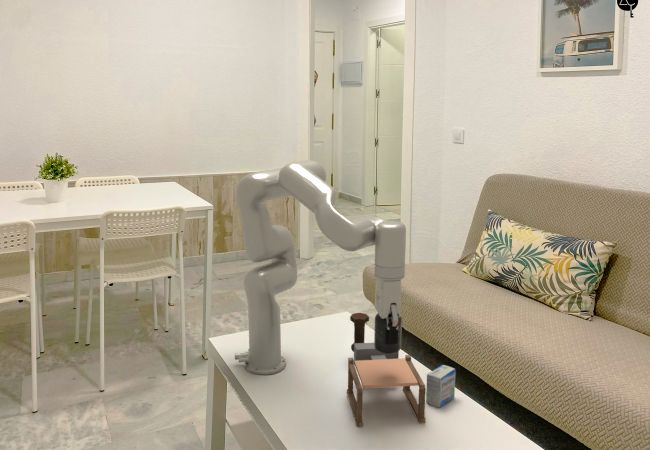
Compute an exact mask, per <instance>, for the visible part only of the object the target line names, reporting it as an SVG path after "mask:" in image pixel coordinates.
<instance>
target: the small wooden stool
mask: <svg viewBox="0 0 650 450" xmlns="http://www.w3.org/2000/svg"><path fill="white" fill-rule="evenodd" d="M404 358H405V360H406V362H407V363H408V365H409V367H410V369H411V371H412V372H413V374H414V376H415V378H416V380H417V381H418V401H417V400H416V398H415V395H414V393H413V391H412V389H411V386H402V391H403V393H404V395H405V397H406V399H407V401H408V403H409V405H410V407H411V409H412V411H413V414H414V415H415V418H416V419H417V422H418V424H426V417H425V413H426V412H425V411H426V410H425V407H426V389H427V387H426V384H425V383H424V381H423V379H422V377H421V376H420V373H419V372H418V370H417V369H416V367H415V365H414V364H413V362H412V356H411V355H410V354H405V357H404ZM354 361H355V360H354V357H348V358H347V363H348V365H347V389H346V395H347V399H348V402H349V405H350V408H351V411H352V415H353V417H354V418H353V419H354V422H355V425H356V427H357V428H359V427H360V428H362V427H364V420H363V410H364V409H363V408H364V407H363V403H364V401H363V399H364V394H363V393H364V391H363V386H362V383H361V380H360V378H359V375H358V372H357V369H356V366H355V364H354ZM354 386H355V389H356V395H355V392H354Z"/></svg>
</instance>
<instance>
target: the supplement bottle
mask: <svg viewBox="0 0 650 450" xmlns="http://www.w3.org/2000/svg"><path fill="white" fill-rule="evenodd" d="M388 317H392V316H391V315H388ZM390 322H392V320H389V324H390ZM402 324H403V317H402V315H401V316H400V317H399V318H398V343H397V344H385V329H386V318H384V319H382V318H381V317H380V316H379V314H378V312H377V313H376V314H375V316H374V342H373V343H374V347H375V349H376V350H377V351H378V352H381V353H386V354H392V353H396V352H398V351H400V350H401V348H402V328H403V325H402Z"/></svg>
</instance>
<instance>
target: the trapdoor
mask: <svg viewBox="0 0 650 450" xmlns="http://www.w3.org/2000/svg"><path fill="white" fill-rule="evenodd" d="M353 343H354V342H353ZM399 351H400V350H399ZM399 351H398V352H396V353H392V354H386V353H381V352H378V351H377V350H376V349H375V347H374V342H364V343H354V352H353V360H354V362H353V364H354V366H355V369H356V372H357V375H358V378H359V380H360V383H361V386H362V390H364V389H379V388H380V389H381V388H397V387H403V386H410V387H413V386H414V387H415V386H416V387H417V386H418V381H417V380H416V378H415V376H414V374H413V372H412V371H411V369H410V367H409V365H408V363H407V362H406V360H405V357H403V358H399V353H400V352H399ZM418 387H419V386H418Z"/></svg>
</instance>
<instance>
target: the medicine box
mask: <svg viewBox="0 0 650 450" xmlns="http://www.w3.org/2000/svg"><path fill="white" fill-rule="evenodd" d="M456 370H457V369H456V368H454V367H452V366H449V365H445V364H441V365H440V366H438V367H437V368H435V369H432V371H430V372H428V373H427V374H426V391H425V404H428V405H431V406H434V407H436V408H438V409H441V408H442V407H443V406H445V404H447V403H448V402H449V401H452V400H453V398H454V397H455V392H456V389H455V388H456V373H457V372H456Z"/></svg>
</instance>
